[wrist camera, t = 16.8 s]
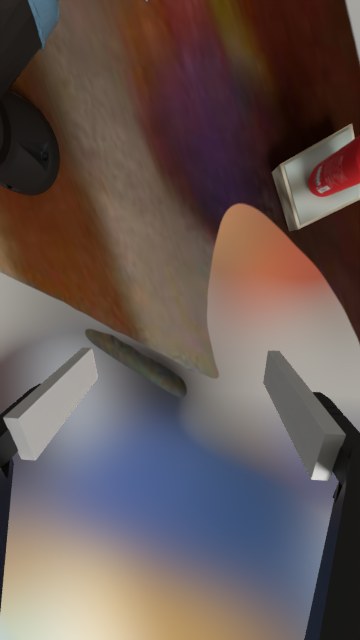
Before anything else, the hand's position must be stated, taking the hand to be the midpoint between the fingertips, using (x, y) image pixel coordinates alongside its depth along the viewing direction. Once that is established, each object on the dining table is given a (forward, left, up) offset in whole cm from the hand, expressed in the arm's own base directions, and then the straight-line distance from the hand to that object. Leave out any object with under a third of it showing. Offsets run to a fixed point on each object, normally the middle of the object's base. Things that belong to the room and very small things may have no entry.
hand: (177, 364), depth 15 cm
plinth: (-7, +28, -32) cm, 43 cm away
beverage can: (-7, +28, -28) cm, 40 cm away
